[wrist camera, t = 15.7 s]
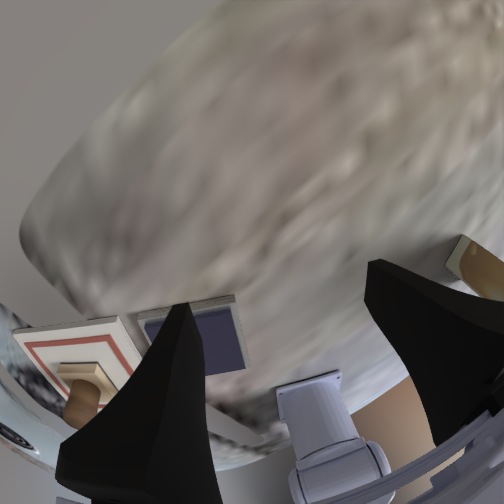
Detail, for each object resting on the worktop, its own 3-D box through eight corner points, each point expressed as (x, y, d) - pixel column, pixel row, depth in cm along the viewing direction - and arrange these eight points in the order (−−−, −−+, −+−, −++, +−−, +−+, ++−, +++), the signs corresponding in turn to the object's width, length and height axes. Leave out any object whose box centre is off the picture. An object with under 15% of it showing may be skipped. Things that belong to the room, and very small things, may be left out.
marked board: (172, 403, 27) (172, 410, 26) (78, 406, 26) (76, 412, 25) (118, 315, 21) (115, 323, 20) (15, 329, 19) (11, 335, 19)
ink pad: (249, 358, 25) (251, 370, 24) (170, 372, 24) (169, 383, 23) (234, 294, 21) (236, 306, 20) (138, 312, 21) (136, 324, 19)
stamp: (119, 390, 24) (112, 437, 19) (83, 390, 23) (73, 433, 18) (97, 361, 22) (84, 412, 16) (60, 362, 21) (44, 408, 16)
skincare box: (478, 251, 25) (544, 305, 14) (461, 280, 27) (523, 339, 16) (461, 231, 23) (542, 291, 12) (442, 264, 24) (516, 332, 14)
